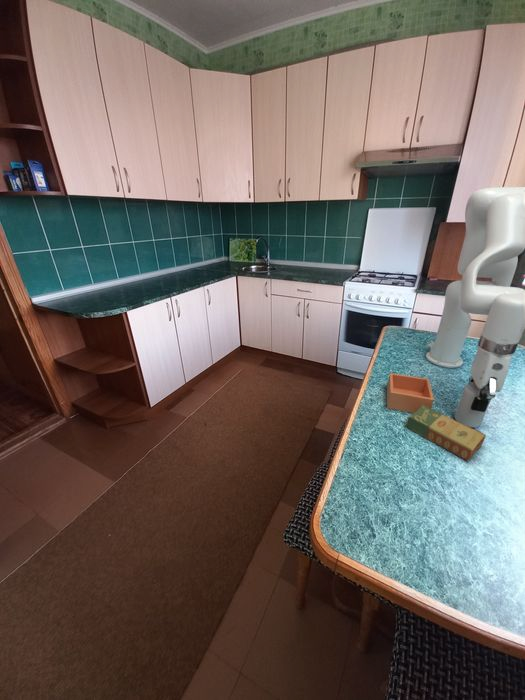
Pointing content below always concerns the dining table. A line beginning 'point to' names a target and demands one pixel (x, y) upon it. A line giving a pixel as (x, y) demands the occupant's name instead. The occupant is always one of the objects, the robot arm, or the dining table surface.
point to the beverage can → (469, 407)
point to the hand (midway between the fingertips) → (474, 402)
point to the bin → (408, 393)
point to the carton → (446, 432)
